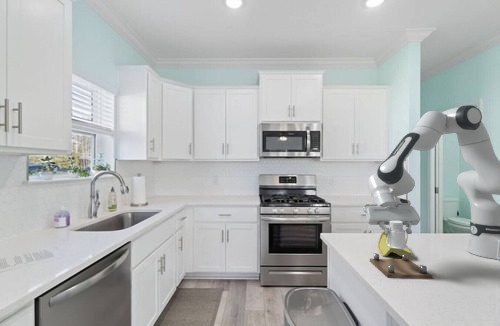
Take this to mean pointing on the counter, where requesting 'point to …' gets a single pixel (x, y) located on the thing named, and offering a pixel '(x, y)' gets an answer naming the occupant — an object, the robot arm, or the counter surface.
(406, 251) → the plastic component
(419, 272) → the pin board
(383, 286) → the counter surface
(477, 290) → the counter surface
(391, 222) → the recessed downlight
